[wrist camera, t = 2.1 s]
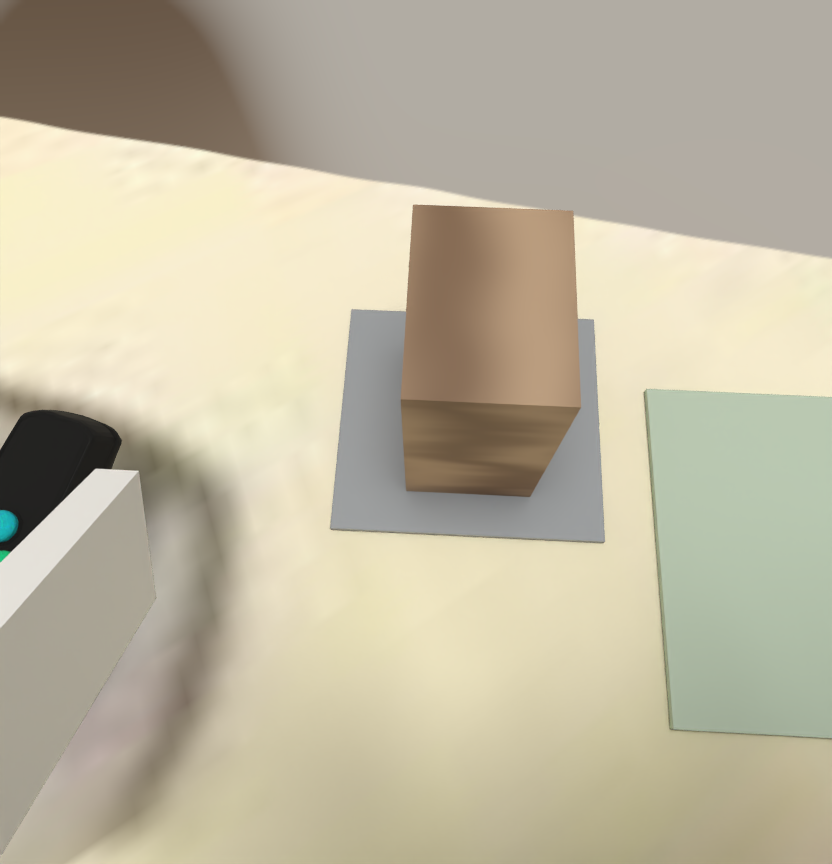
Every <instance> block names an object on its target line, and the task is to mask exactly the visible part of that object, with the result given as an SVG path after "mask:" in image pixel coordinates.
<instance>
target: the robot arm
mask: <svg viewBox="0 0 832 864" xmlns="http://www.w3.org/2000/svg"><path fill="white" fill-rule="evenodd" d="M155 599H156V593H155V585H154V578H153V571H152V563H151V556H150V549H149V541H148V534H147V527H146V520H145V512H144V505H143V498H142V490H141V483H140V476H139V471H132V470H112V469H95V470H94V471H93V472H92V473H91V474H90V475H89V476H88V477H87V478H86V479H85V480H84V481H83V482H82V483H81V484H80V485H79V486H78V487H76V488H75V489H74V490H73V491H72V492H71V493H70V494H69V495H68V496H67V497H66V498H65V499H64V500H63V501H62V502H61V503H60V504H59V505H58V506H57V507H56V508H55V509H54V510H53V511H52V512H51V513H50V514H49V515H48V516H47V517H46V518H45V519H44V520H43V521H42V522H41V523H40V524H39V525H38V526H37V527H36V528H35V529H34V530H33V531H32V532H31V533H30V534H29V535H28V536H27V537H26V538H25V539H24V540H23V541H22V542H21V543H20V544H19V545H18V546H17V547H16V548H15V549H14V550H13V551H12V552H11V553H10V554H9V555H8V556H7V557H6V558H5V559H4V560H3V561H2V562H1V563H0V857H1V855H2V854H3V852H4V850H5V849H6V847H7V845H8V844H9V842H10V840H11V839H12V837H13V835H14V834H15V832H16V830H17V829H18V827H19V825H20V824H21V822H22V820H23V819H24V817H25V815H26V814H27V812H28V810H29V809H30V807H31V805H32V804H33V802H34V800H35V799H36V797H37V795H38V794H39V792H40V790H41V789H42V787H43V785H44V784H45V782H46V780H47V779H48V777H49V775H50V774H51V772H52V771H53V769H54V767H55V766H56V764H57V762H58V761H59V759H60V757H61V756H62V754H63V752H64V751H65V749H66V747H67V746H68V744H69V742H70V741H71V739H72V737H73V736H74V734H75V732H76V731H77V729H78V727H79V726H80V724H81V722H82V721H83V719H84V717H85V716H86V714H87V712H88V711H89V709H90V707H91V706H92V704H93V702H94V701H95V699H96V697H97V696H98V694H99V692H100V691H101V689H102V687H103V686H104V684H105V682H106V681H107V679H108V677H109V676H110V674H111V672H112V671H113V669H114V667H115V666H116V664H117V662H118V661H119V659H120V657H121V656H122V654H123V652H124V651H125V649H126V648H127V646H128V644H129V643H130V641H131V639H132V638H133V636H134V634H135V633H136V631H137V629H138V628H139V626H140V624H141V623H142V621H143V619H144V618H145V616H146V614H147V613H148V611H149V609H150V608H151V606H152V604H153V603H154V601H155Z"/></svg>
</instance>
